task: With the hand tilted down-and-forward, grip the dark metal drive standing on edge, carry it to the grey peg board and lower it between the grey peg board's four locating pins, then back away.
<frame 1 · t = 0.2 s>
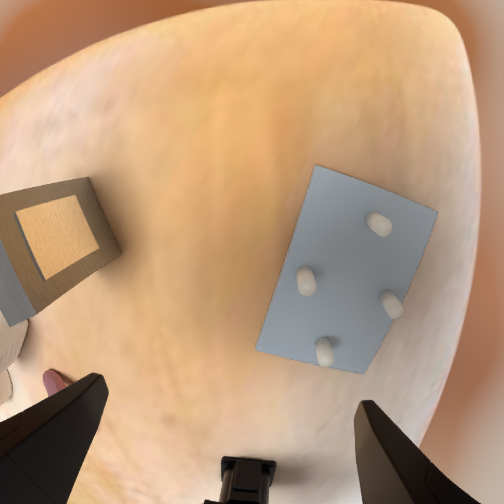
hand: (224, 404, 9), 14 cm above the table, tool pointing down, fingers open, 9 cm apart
grey peg board: (345, 281, 23), on the table
drive: (89, 223, 23), on the table
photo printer: (15, 329, 28), on the table
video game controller: (71, 398, 31), on the table
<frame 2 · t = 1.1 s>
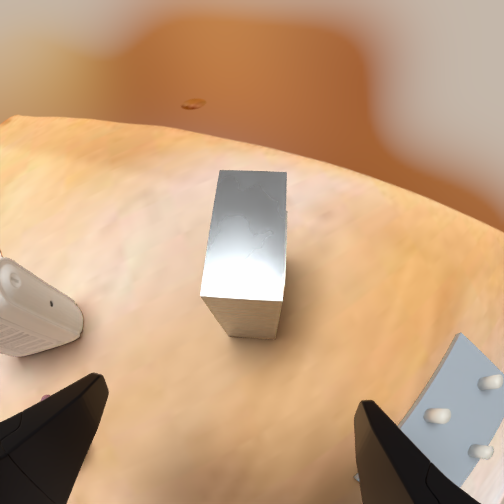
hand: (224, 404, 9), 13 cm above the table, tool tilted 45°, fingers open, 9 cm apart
grey peg board: (447, 433, 18), on the table
drive: (255, 295, 25), on the table
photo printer: (46, 331, 24), on the table
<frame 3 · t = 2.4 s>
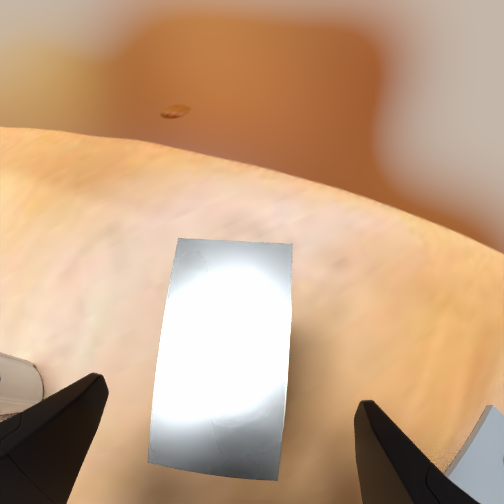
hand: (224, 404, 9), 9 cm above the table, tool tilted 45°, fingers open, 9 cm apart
drive: (245, 374, 18), on the table
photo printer: (7, 391, 17), on the table
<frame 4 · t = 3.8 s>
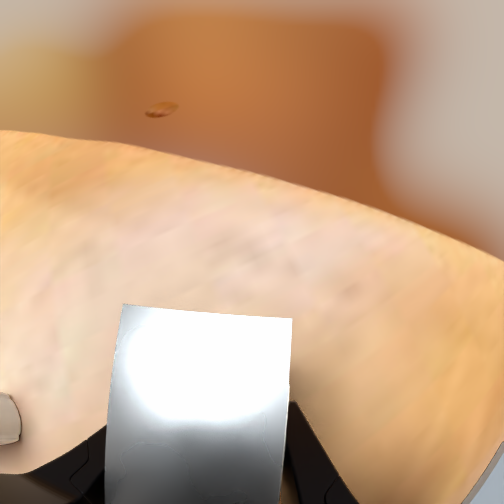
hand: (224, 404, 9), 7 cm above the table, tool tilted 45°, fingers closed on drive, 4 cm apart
drive: (237, 422, 15), on the table, touching gripper
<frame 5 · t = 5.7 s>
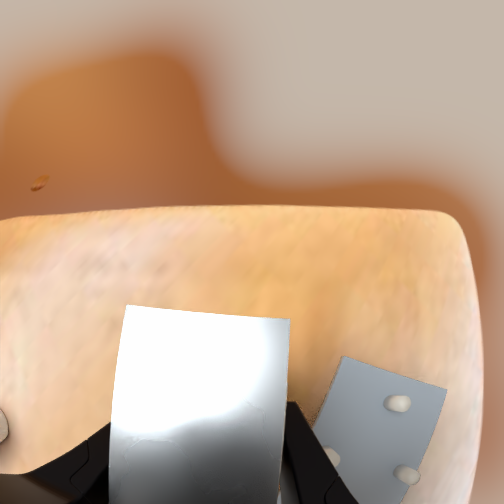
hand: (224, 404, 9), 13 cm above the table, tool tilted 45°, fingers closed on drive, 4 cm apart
grey peg board: (361, 461, 18), on the table
drive: (236, 420, 15), point 6 cm above the table, touching gripper
when the fingers open (9 cm above the table, at t = 7.5 s): drive stays where it is, resting on grey peg board.
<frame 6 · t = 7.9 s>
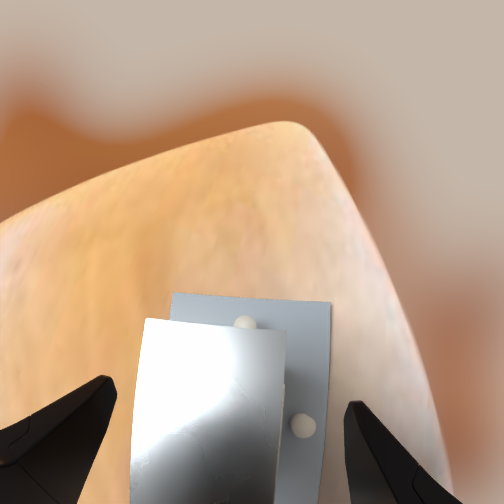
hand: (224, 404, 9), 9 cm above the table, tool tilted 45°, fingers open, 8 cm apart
grey peg board: (241, 417, 17), on the table
drive: (238, 418, 16), point 1 cm above the table, touching grey peg board
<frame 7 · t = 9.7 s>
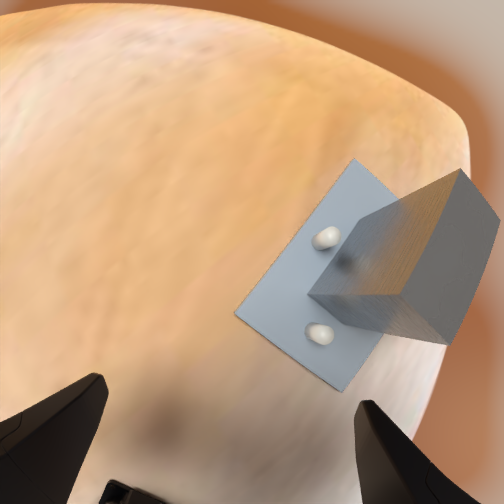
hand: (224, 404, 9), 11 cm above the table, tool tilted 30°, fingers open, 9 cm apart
grey peg board: (349, 272, 22), on the table
drive: (352, 270, 21), point 1 cm above the table, touching grey peg board
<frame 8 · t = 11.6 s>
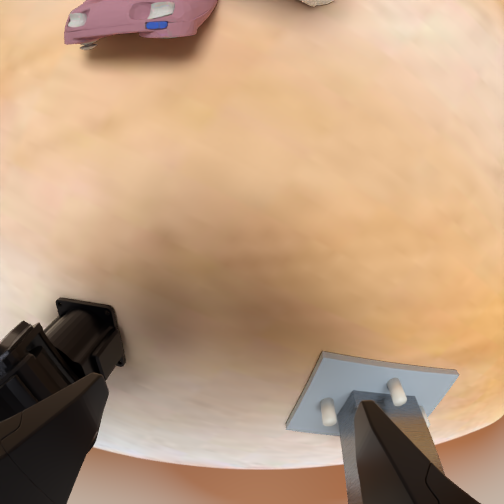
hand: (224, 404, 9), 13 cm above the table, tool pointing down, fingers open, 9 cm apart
grey peg board: (374, 401, 25), on the table
drive: (377, 406, 24), point 1 cm above the table, touching grey peg board
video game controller: (152, 22, 16), on the table
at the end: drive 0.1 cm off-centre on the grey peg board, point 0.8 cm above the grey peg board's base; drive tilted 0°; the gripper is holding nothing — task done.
